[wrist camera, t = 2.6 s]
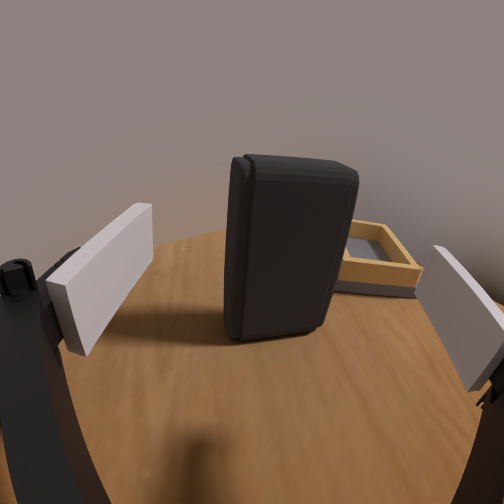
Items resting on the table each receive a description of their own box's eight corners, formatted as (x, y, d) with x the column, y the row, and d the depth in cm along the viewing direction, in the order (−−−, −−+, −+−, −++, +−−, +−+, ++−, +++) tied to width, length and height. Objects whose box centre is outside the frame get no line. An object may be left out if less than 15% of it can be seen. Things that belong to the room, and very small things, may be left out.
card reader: (309, 307, 30) (339, 159, 23) (326, 333, 27) (367, 171, 20) (220, 317, 28) (229, 150, 21) (229, 347, 24) (243, 161, 17)
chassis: (384, 248, 45) (391, 225, 44) (416, 298, 33) (427, 270, 31) (262, 232, 46) (265, 207, 44) (256, 282, 33) (260, 250, 32)
